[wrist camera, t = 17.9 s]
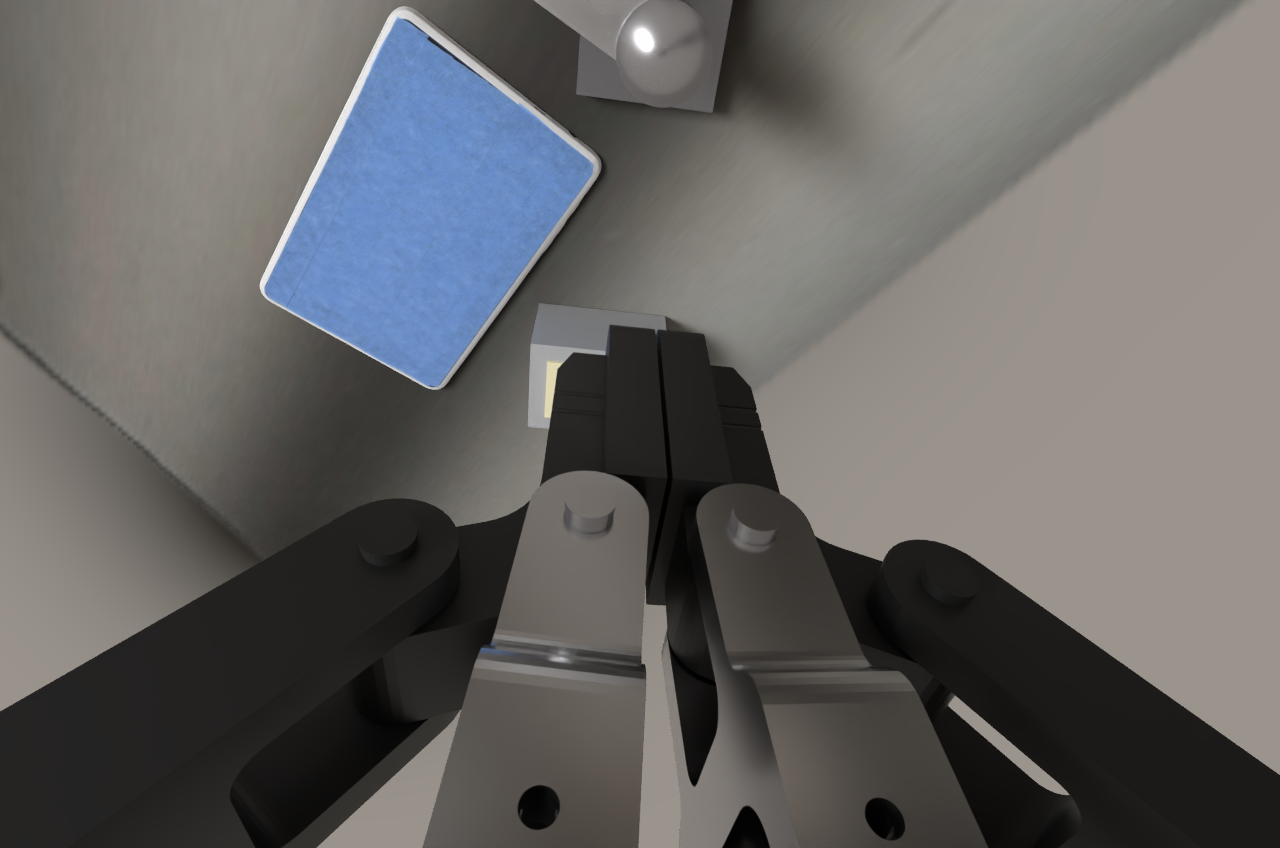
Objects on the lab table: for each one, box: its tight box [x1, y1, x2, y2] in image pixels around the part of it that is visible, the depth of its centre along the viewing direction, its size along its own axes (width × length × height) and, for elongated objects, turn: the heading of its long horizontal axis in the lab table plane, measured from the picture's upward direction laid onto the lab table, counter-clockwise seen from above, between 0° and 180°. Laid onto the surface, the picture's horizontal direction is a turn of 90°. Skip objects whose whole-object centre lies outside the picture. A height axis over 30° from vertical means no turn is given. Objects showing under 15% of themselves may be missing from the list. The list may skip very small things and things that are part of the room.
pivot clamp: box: [576, 0, 733, 113], centre depth 30 cm, size 7×7×7 cm
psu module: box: [528, 303, 666, 429], centre depth 42 cm, size 8×6×5 cm
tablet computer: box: [260, 6, 602, 390], centre depth 39 cm, size 19×13×1 cm, turn 142°
